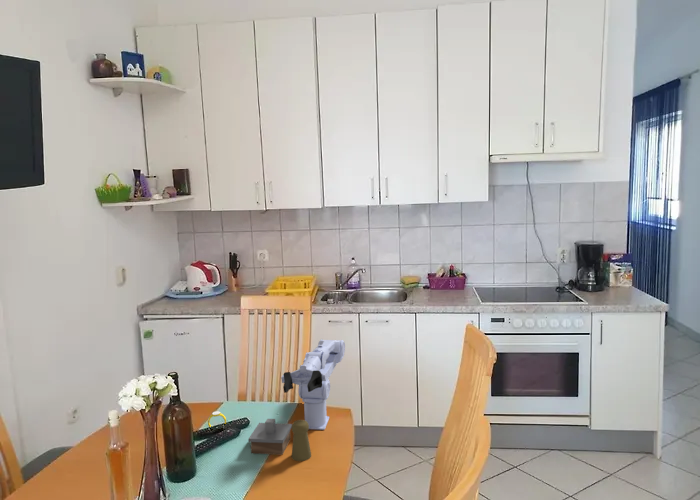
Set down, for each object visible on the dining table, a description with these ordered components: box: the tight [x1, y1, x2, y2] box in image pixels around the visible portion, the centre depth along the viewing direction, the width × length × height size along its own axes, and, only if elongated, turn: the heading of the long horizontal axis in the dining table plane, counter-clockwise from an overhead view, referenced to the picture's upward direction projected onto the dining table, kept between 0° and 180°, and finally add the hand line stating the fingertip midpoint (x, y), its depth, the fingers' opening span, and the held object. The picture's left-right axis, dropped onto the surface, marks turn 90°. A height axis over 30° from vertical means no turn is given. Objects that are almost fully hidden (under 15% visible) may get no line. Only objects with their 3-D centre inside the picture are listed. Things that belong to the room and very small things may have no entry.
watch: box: [207, 410, 227, 427], centre depth 181 cm, size 6×3×6 cm, turn 98°
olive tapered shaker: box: [291, 419, 312, 462], centre depth 161 cm, size 6×6×11 cm
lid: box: [248, 418, 293, 443], centre depth 167 cm, size 11×11×4 cm
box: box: [250, 431, 292, 456], centre depth 168 cm, size 10×10×4 cm
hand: (296, 389), depth 160 cm, fingers open, 7 cm apart
